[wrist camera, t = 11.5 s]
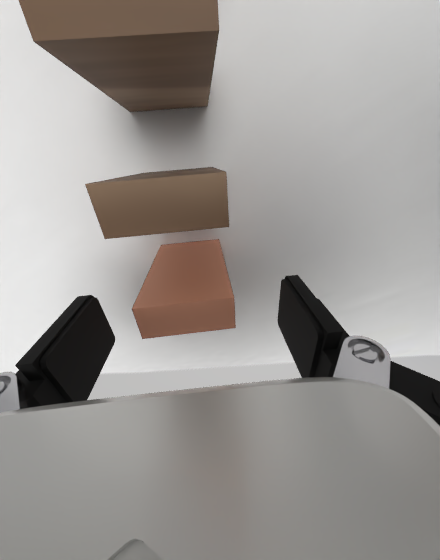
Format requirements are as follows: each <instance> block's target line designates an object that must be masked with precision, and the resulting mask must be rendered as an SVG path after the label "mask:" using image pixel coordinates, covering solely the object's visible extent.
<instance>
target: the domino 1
mask: <svg viewBox="0 0 440 560" xmlns="http://www.w3.org/2000/svg"><path fill="white" fill-rule="evenodd" d="M19 3H20V5H21V8H22V11H23V14H24V16H25V19H26V22H27V25H28V27H29V30H30V33H31V36H32V38H33V41H34V42H35V43H37V44H38V45H39V46H41V47H42V48H43V49H45V50H46V51H47V52H49V53H50V54H52V55H53V56H54V57H56V58H57V59H58V60H60V61H61V62H63V63H64V64H65V65H67V66H68V67H69V68H71V69H72V70H73V71H75V72H76V73H78V74H79V75H80V76H82V77H83V78H84V79H86V80H87V81H89V82H90V83H91V84H93V85H94V86H95V87H97V88H98V89H99V90H101V91H102V92H104V93H105V94H106V95H108V96H109V97H110V98H112V99H113V100H114V101H116V102H117V103H119V104H120V105H121V106H123V107H124V108H125V109H127V110H128V111H130V112H136V111H150V110H164V109H177V108H191V107H205V106H208V100H209V93H210V87H211V80H212V73H213V67H214V60H215V54H216V47H217V40H218V34H219V20H218V1H217V0H19Z"/></svg>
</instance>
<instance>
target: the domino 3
mask: <svg viewBox="0 0 440 560" xmlns="http://www.w3.org/2000/svg"><path fill="white" fill-rule="evenodd" d="M132 311H133V314H134V316H135V319H136V322H137V325H138V328H139V330H140V333H141V336H142V339H146V338H154V337H163V336H171V335H179V334H188V333H196V332H205V331H213V330H222V329H230V328H236V325H235V304H234V295H233V291H232V287H231V284H230V280H229V276H228V272H227V268H226V265H225V261H224V257H223V253H222V249H221V246H220V242H219V239H216V240H206V241H196V242H186V243H176V244H166V245H161V246H160V248H159V251H158V253H157V255H156V257H155V259H154V261H153V264H152V266H151V268H150V270H149V272H148V275H147V277H146V279H145V281H144V283H143V286H142V288H141V290H140V292H139V294H138V297H137V299H136V301H135V303H134V305H133V308H132Z"/></svg>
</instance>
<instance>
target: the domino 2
mask: <svg viewBox="0 0 440 560" xmlns="http://www.w3.org/2000/svg"><path fill="white" fill-rule="evenodd" d="M85 185H86V188H87V191H88V193H89V196H90V199H91V202H92V205H93V207H94V210H95V213H96V216H97V218H98V221H99V224H100V227H101V229H102V232H103V235H104V238H105V239H109V238H120V237H130V236H140V235H151V234H161V233H171V232H182V231H192V230H202V229H213V228H223V227H229V216H228V197H227V177H226V172H225V171H222V170H219V169H216V168H213V167H208V168H196V169H184V170H172V171H161V172H149V173H141V174H136V175H130V176H125V177H120V178H115V179H110V180H104V181H99V182H94V183H89V184H85Z"/></svg>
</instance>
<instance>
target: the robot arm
mask: <svg viewBox="0 0 440 560" xmlns="http://www.w3.org/2000/svg"><path fill="white" fill-rule="evenodd" d="M278 325H279V328H280V330H281V332H282V334H283V336H284V339H285V341H286V343H287V345H288V348H289V350H290V352H291V354H292V356H293V359H294V361H295V363H296V365H297V368H298V370H299V372H300V374H301V376H302V378H296V379H285V380H272V381H262V382H252V383H242V384H232V385H223V386H213V387H203V388H194V389H185V390H176V391H166V392H157V393H148V394H140V395H130V396H121V397H112V398H104V399H96V400H87V399H88V397H89V395H90V393H91V391H92V389H93V386H94V384H95V382H96V380H97V378H98V376H99V374H100V372H101V370H102V368H103V366H104V364H105V362H106V360H107V357H108V355H109V353H110V351H111V349H112V347H113V345H114V343H115V336H114V334H113V332H112V329H111V327H110V325H109V323H108V321H107V318H106V316H105V314H104V312H103V310H102V308H101V305H100V303H99V301H98V299H97V298H94V297H93V296H92V295H87V296H78V297H77V298H76V299H75V300H74V301H73V302H72V303H71V304H70V306H69V307H68V308H67V309H66V310H65V311H64V312H63V313H62V314H61V316H60V317H59V318H58V319H57V320H56V321H55V322H54V323H53V324H52V325H51V327H50V328H49V329H48V330H47V331H46V332H45V333H44V334H43V335H42V336H41V338H40V339H39V340H38V341H37V342H36V343H35V344H34V345H33V346H32V347H31V349H30V350H29V351H28V352H27V353H26V354H25V355H24V356H23V357H22V358H21V360H20V361H19V362H18V363H17V364H16V365H15V366H16V367H17V368H18V369H19V371H18V372H17V373H16V374H15V373H13V372H4V373H0V560H440V382H439V381H437V380H435V379H433V378H430V377H428V376H425V375H423V374H421V373H418V372H416V371H413V370H411V369H409V368H406V367H404V366H402V365H399V364H397V363H394V362H392V361H390V360H391V359H390V354H389V353H388V351H387V350H386V349H385V348H384V347H383V346H382V345H381V344H379V343H378V342H376V341H375V340H372V339H370V338H367V337H363V336H349V335H348V334H347V333H346V331H345V330H344V329H343V328H342V326H341V325H340V324H339V323H338V322H337V320H336V319H335V318H334V317H333V315H332V314H331V313H330V312H329V311H328V309H327V308H326V307H325V306H324V305H323V303H322V302H321V301H320V300H319V299H317V298H316V297H315V296H314V295H313V293H312V292H311V291H310V290H309V288H308V287H307V286H306V285H305V283H304V282H303V281H302V280H301V279H300V277H299V276H298V275H292V276H286V277H285V279H282V281H281V290H280V301H279V312H278Z"/></svg>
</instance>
